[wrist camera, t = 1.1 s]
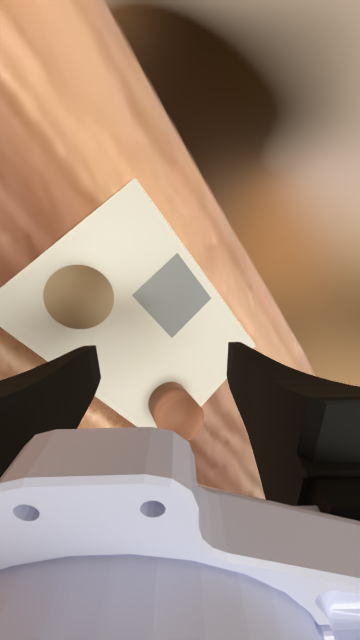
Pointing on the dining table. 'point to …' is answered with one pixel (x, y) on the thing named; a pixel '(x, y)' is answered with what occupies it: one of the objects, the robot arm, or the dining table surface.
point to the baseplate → (131, 307)
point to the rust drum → (176, 410)
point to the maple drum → (78, 297)
